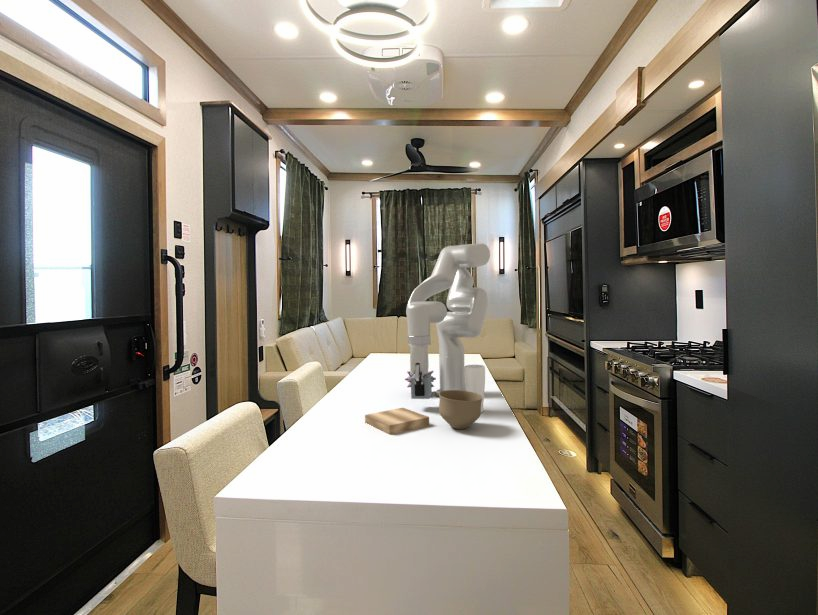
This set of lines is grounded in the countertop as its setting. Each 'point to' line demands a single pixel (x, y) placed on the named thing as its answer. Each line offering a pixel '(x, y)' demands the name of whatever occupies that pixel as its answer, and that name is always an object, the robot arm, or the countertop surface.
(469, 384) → the drinking glass
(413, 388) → the slate tea tin
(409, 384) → the purple spiky ball
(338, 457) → the countertop surface
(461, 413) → the bowl
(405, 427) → the block
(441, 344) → the robot arm
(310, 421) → the countertop surface
